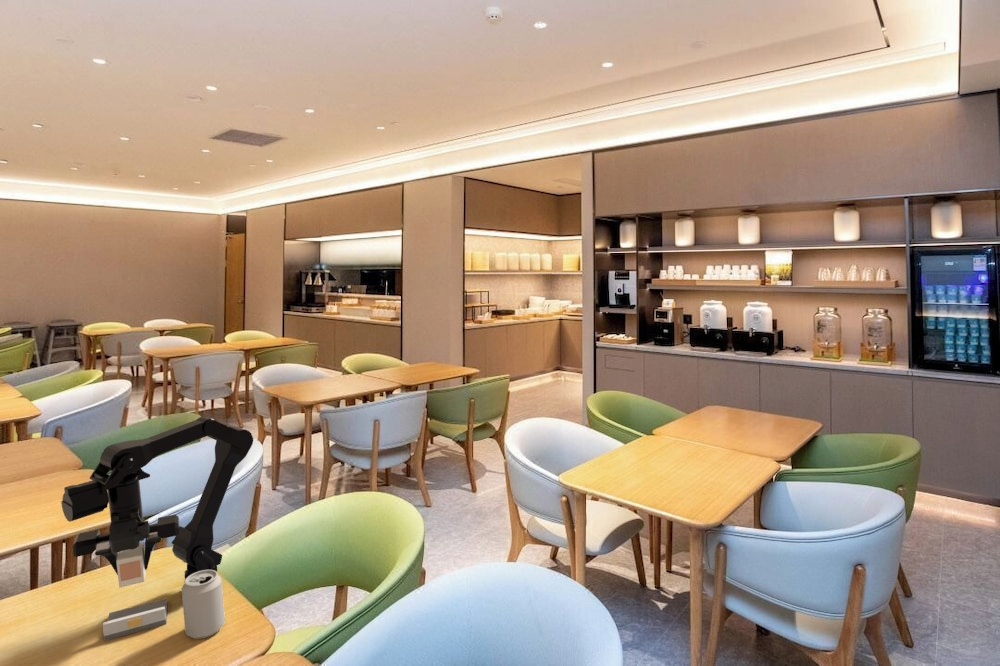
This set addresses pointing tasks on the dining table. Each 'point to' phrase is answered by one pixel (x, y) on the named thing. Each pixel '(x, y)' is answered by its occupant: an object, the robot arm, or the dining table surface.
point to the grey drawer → (135, 619)
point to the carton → (131, 566)
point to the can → (203, 604)
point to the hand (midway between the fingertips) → (132, 571)
